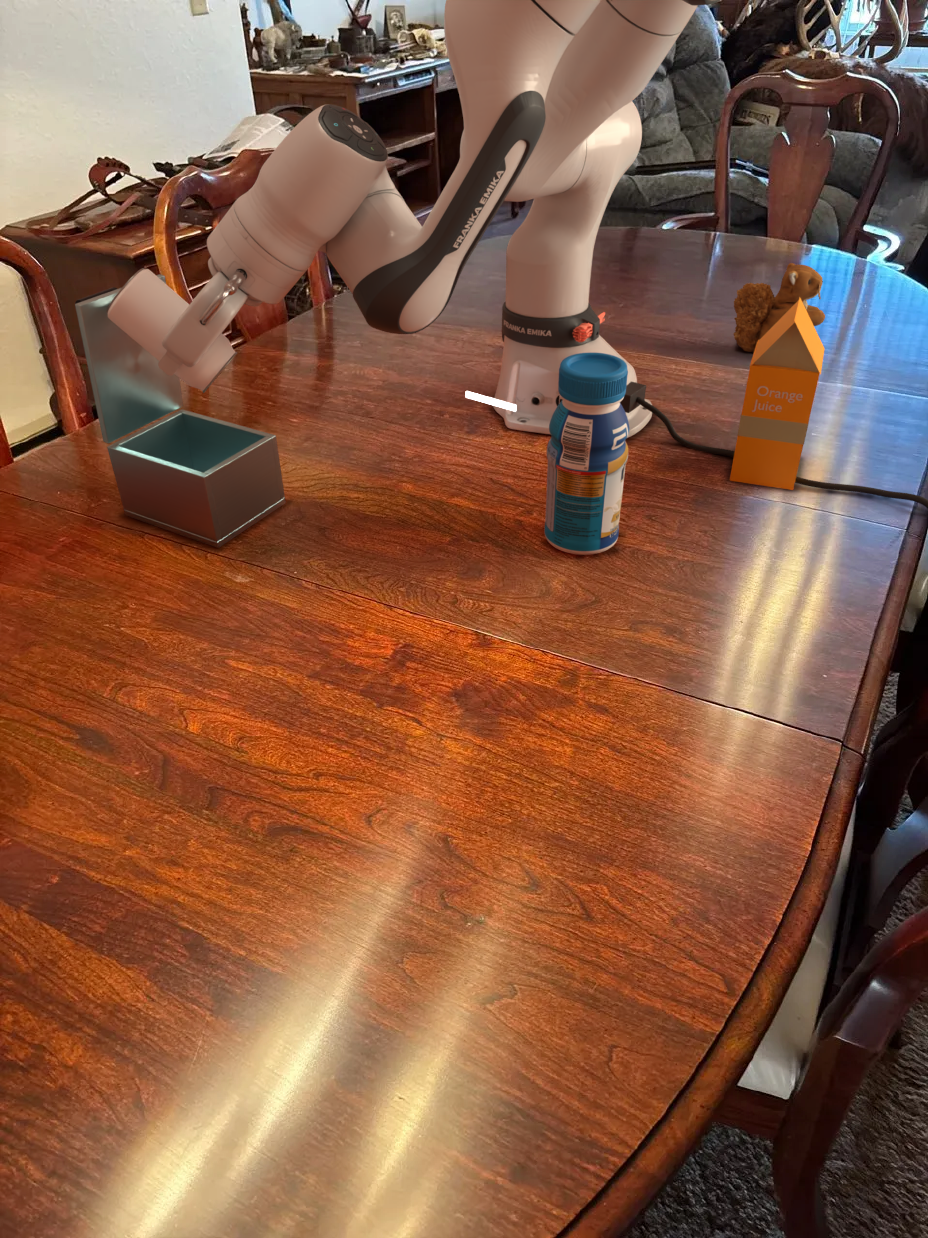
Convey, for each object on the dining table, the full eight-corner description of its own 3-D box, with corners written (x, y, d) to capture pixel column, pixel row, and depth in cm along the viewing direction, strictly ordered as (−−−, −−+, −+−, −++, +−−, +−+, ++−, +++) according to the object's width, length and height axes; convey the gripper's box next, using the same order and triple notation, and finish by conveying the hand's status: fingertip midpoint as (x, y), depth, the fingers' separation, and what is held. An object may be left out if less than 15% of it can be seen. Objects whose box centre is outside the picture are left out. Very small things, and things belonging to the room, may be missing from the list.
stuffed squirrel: (814, 365, 142) (834, 278, 134) (721, 355, 146) (734, 269, 138) (818, 344, 149) (836, 259, 141) (729, 334, 153) (742, 252, 145)
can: (115, 309, 97) (208, 387, 101) (96, 319, 91) (195, 402, 95) (152, 262, 95) (245, 344, 99) (134, 269, 89) (234, 356, 93)
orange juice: (728, 480, 112) (757, 317, 101) (737, 449, 119) (765, 293, 107) (794, 490, 110) (832, 324, 98) (800, 458, 117) (836, 299, 105)
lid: (165, 275, 100) (130, 264, 102) (80, 305, 92) (44, 293, 94) (183, 406, 110) (151, 394, 112) (108, 443, 102) (75, 430, 104)
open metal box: (286, 503, 109) (276, 434, 104) (218, 548, 101) (203, 477, 96) (195, 474, 116) (182, 408, 110) (125, 515, 108) (106, 446, 102)
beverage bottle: (529, 527, 104) (535, 355, 92) (595, 512, 107) (609, 342, 95) (565, 565, 98) (576, 385, 86) (633, 547, 100) (654, 371, 89)
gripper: (256, 315, 83) (172, 416, 90) (299, 252, 100) (225, 341, 106) (198, 265, 81) (116, 372, 87) (252, 208, 97) (179, 302, 103)
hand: (176, 354), depth 97 cm, fingers closed on can, 6 cm apart
